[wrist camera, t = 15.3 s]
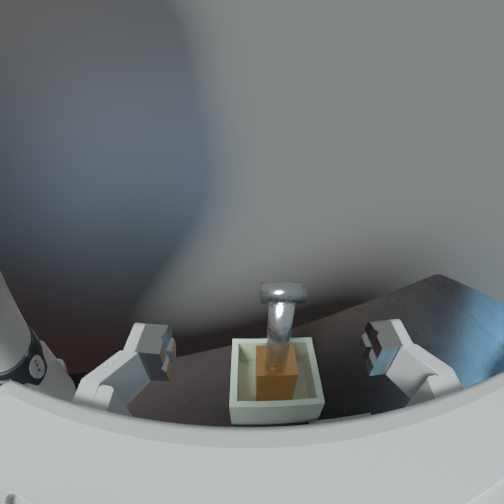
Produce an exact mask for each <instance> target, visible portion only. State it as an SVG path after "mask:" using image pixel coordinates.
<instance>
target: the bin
mask: <svg viewBox="0 0 504 504" xmlns="http://www.w3.org/2000/svg"><path fill="white" fill-rule="evenodd" d="M262 345H267V339H233V342H232V360H231V380H230V401H229V409H230V416H231V424H283V423H298V422H309V421H317V420H318V417H319V415H320V413H321V411H322V409H323V406H324V404H325V401H324V396H323V391H322V386H321V381H320V376H319V371H318V366H317V362H316V357H315V352H314V348H313V343H312V339H311V337H304V338H290V344H289V345H294V350H295V356H296V362H297V369H298V378H297V382H296V387H295V391H294V395H293V399H292V400H280V401H256V378H255V371H256V346H262Z"/></svg>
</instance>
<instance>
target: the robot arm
mask: <svg viewBox="0 0 504 504" xmlns="http://www.w3.org/2000/svg"><path fill="white" fill-rule="evenodd" d="M365 331H366V333H365V334H364V335H362V337H361V340H360V352H361V355H362V357H363V358H365V359H366V363H365V367H366V369H367V372H368V375H369V376H373V375H381V374H386V375H387V376H388V377H389V378H390V379H391V380H392V381H393V382H394V383H395V384H396V385H397V386H398V387H399V388H400V389H401V390H402V391H403V392H404V393H405V394H406V395H407V396H408V397H409V398H411V400H410V401H409V403H408V404H407V405H406V407H405V408H401V409H397V410H393V411H389V412H384V413H380V414H375V415H370V416H365V417H359V418H353V419H347V420H341V421H333V422H326V423H317V424H307V425H295V426H278V427H218V426H201V425H189V424H179V423H170V422H163V421H156V420H149V419H143V418H137V417H133V416H132V415H131V414H130V412H129V411H128V409H127V408H126V406H127V405H128V404H129V403H130V402H131V401H132V400H133V399H134V398H135V397H136V396H137V395H138V394H139V393H140V392H141V391H142V389H143V388H144V387H145V386H146V385H147V384H148V383H149V382H150V381H151V380H158V381H170V377H171V373H172V366H171V363H172V362H173V361H174V360H175V355H176V345H175V340H174V339H173V338H172V337H171V335H172V329H171V326H169V325H157V324H145V323H135V324H134V325H133V328H132V330H131V332H130V335H129V337H128V340H127V342H126V345H125V347H124V350H123V351H119V352H117V353H116V354H115V355H113V356H112V357H111V358H109V359H108V360H106V361H105V362H104V363H102V364H101V365H100V366H98V367H97V368H96V369H94V370H93V371H92V372H90V373H89V374H88V375H86V376H85V377H84V378H82V379H81V381H80V384H79V386H78V389H77V391H76V389H75V385H74V382H73V380H72V379H71V377H70V376H69V375H68V373H67V369H66V364H65V362H64V361H63V360H62V359H57V358H56V357H55V356H54V354H53V353H52V352H51V351H50V350H49V348H48V347H47V345H46V344H45V343H44V342H43V341H39V340H38V338H37V336H36V334H35V333H34V331H33V330H32V329H31V327H30V326H29V325H27V324H26V322H25V321H24V319H23V317H22V315H21V313H20V311H19V310H18V308H17V306H16V304H15V302H14V300H13V298H12V296H11V294H10V291H9V289H8V287H7V285H6V283H5V281H4V279H3V276H2V274H1V272H0V504H504V371H503V372H501V373H499V374H497V375H494V376H492V377H490V378H488V379H486V380H483V381H481V382H479V383H476V384H474V385H471V386H469V387H466V388H464V389H463V388H462V386H461V384H460V382H459V380H458V378H457V376H456V374H455V372H454V370H453V369H452V368H451V367H449V366H448V365H446V364H445V363H443V362H442V361H440V360H439V359H438V358H436V357H435V356H433V355H432V354H430V353H429V352H427V351H426V350H424V349H423V348H421V347H420V346H418V345H417V344H413V343H412V341H411V339H410V337H409V335H408V333H407V331H406V330H405V328H404V326H403V324H402V322H401V321H400V320H399V319H392V320H384V321H375V322H368V323H367V324H366V326H365Z"/></svg>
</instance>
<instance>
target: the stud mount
mask: <svg viewBox="0 0 504 504" xmlns="http://www.w3.org/2000/svg"><path fill="white" fill-rule="evenodd" d="M370 415H371V413H365V414H360V415H354V416H348V417H341V418H334V419H326V420H317V421H309V423H308V424H317V423H326V422H333V421H341V420H347V419H353V418H359V417H365V416H370Z"/></svg>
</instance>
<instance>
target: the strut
mask: <svg viewBox="0 0 504 504" xmlns="http://www.w3.org/2000/svg"><path fill="white" fill-rule="evenodd" d="M260 295H261V304H269V316H268V334H267V345H262V346H256V371H255V378H256V401H280V400H292V399H293V395H294V391H295V387H296V382H297V378H298V369H297V362H296V356H295V350H294V345H289V344H290V337H291V330H292V323H293V316H294V308H295V303H306V300H307V286H306V283H305V282H279V283H278V282H272V283H271V282H270V283H269V282H264V283H261V290H260Z"/></svg>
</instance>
